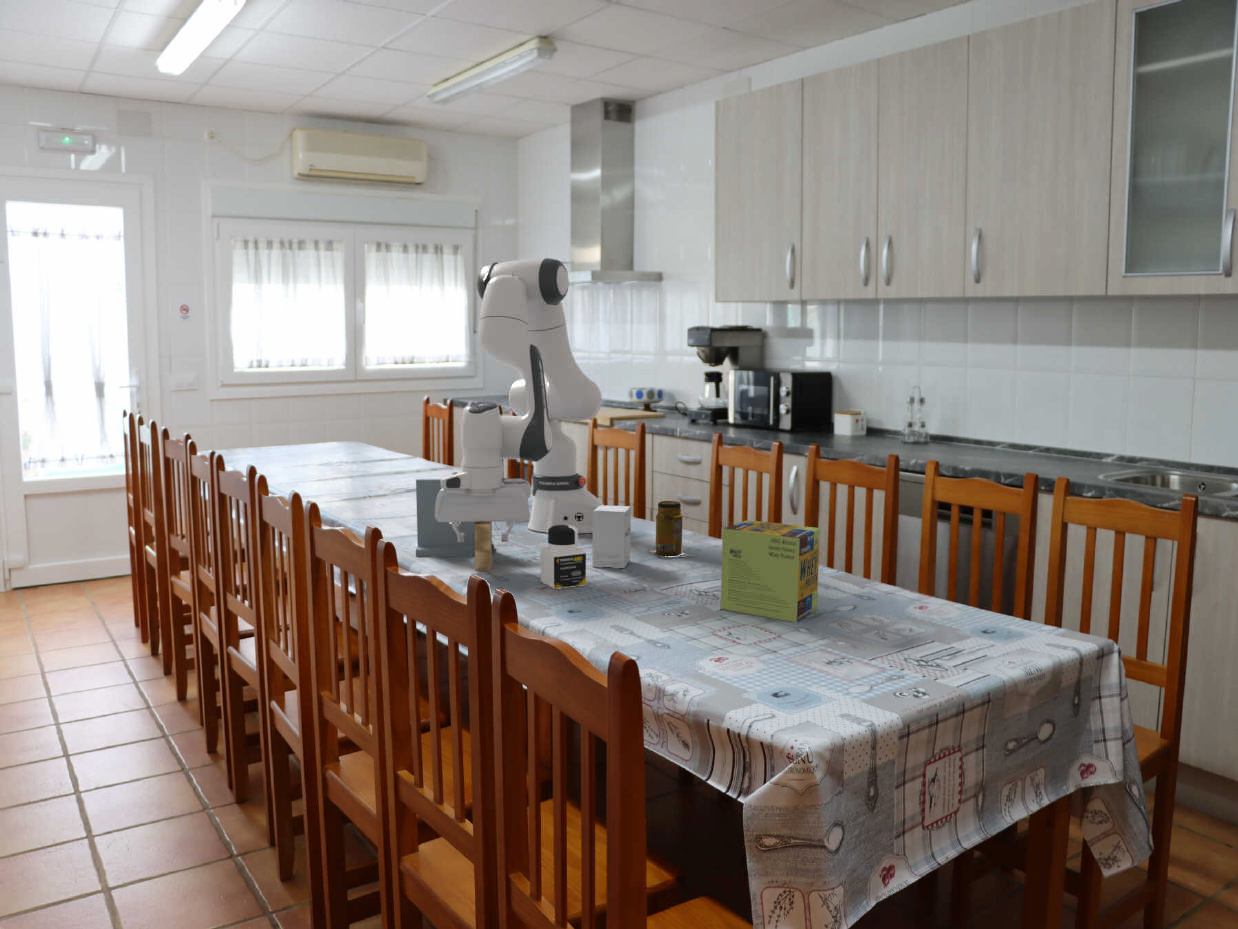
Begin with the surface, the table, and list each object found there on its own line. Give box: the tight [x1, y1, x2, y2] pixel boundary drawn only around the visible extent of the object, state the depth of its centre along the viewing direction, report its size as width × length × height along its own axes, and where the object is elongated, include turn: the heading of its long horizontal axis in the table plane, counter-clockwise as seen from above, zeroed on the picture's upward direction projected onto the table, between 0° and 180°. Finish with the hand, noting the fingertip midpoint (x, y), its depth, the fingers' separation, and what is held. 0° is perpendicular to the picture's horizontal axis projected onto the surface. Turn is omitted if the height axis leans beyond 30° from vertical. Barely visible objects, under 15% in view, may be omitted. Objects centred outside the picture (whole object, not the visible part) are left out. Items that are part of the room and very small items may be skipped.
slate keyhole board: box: [415, 478, 494, 557], centre depth 225 cm, size 17×8×17 cm, turn 94°
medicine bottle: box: [540, 525, 587, 590], centre depth 197 cm, size 7×7×12 cm
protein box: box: [720, 519, 821, 623], centre depth 180 cm, size 10×15×16 cm
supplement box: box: [592, 505, 632, 569], centre depth 214 cm, size 7×7×13 cm
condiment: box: [648, 500, 691, 559], centre depth 224 cm, size 7×8×12 cm
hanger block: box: [474, 522, 495, 572], centre depth 213 cm, size 4×10×10 cm, turn 4°
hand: (483, 541), depth 211 cm, fingers open, 8 cm apart
